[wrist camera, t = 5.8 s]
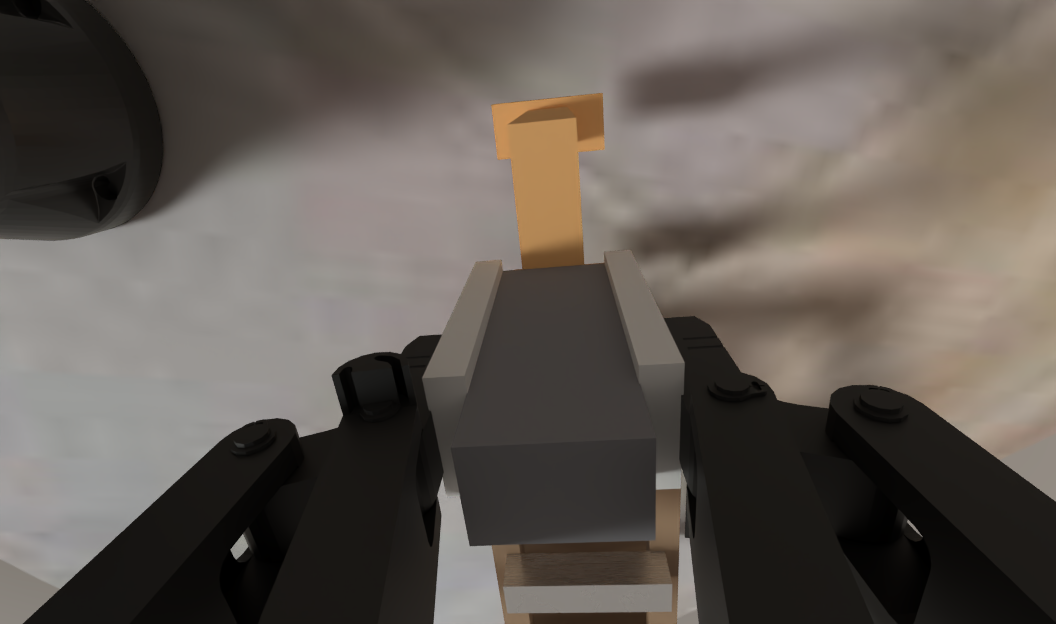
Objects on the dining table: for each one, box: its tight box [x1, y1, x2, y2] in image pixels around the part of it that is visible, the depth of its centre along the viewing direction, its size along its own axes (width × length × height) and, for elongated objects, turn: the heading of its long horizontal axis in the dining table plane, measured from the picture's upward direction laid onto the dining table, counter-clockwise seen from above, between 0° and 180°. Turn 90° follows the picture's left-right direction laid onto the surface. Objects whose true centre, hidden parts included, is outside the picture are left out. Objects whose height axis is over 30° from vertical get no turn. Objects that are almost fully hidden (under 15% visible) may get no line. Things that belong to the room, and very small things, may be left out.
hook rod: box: [503, 551, 672, 613], centre depth 27 cm, size 2×8×2 cm, turn 95°
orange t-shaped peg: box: [451, 93, 656, 546], centre depth 17 cm, size 11×5×20 cm, turn 5°
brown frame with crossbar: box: [492, 489, 681, 624], centre depth 33 cm, size 20×10×11 cm, turn 5°
